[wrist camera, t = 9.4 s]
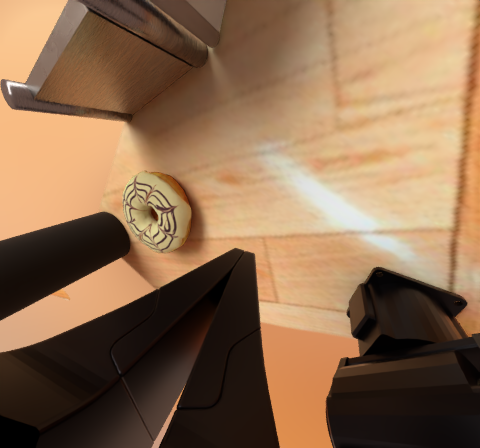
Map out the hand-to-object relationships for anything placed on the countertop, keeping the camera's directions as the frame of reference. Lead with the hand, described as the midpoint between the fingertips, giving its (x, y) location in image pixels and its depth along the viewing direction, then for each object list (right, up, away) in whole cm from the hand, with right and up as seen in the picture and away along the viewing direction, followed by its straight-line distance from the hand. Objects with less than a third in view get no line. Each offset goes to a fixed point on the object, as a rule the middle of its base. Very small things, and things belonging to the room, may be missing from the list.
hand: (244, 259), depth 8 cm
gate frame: (-9, +16, +12) cm, 22 cm away
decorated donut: (-10, +3, +19) cm, 22 cm away
